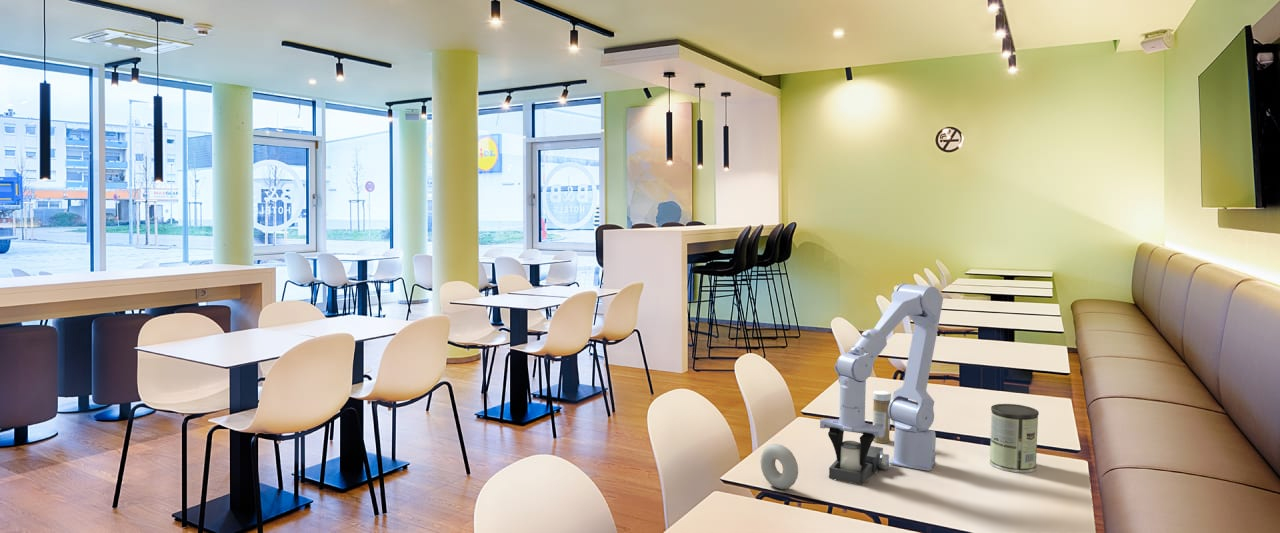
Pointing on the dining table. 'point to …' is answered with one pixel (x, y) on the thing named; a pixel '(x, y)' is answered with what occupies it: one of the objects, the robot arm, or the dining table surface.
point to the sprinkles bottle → (881, 413)
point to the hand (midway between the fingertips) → (851, 462)
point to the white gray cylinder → (850, 456)
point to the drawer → (877, 459)
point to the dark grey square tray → (850, 473)
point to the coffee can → (1014, 437)
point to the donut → (787, 463)
